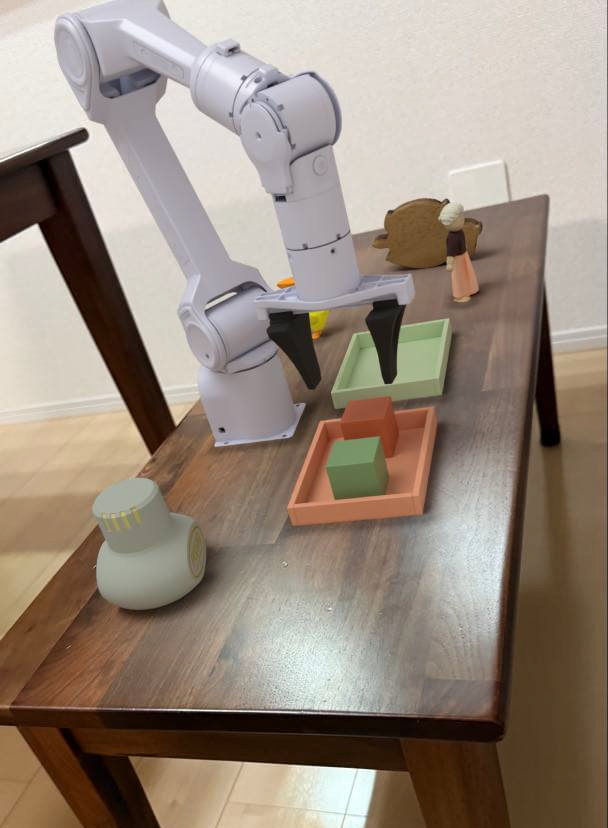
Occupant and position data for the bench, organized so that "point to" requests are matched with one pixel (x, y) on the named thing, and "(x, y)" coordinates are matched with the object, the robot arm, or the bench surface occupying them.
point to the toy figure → (316, 318)
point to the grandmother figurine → (458, 253)
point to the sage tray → (416, 365)
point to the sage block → (357, 468)
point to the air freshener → (145, 547)
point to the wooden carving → (421, 234)
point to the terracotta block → (371, 422)
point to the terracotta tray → (404, 469)
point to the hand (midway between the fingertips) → (352, 382)
